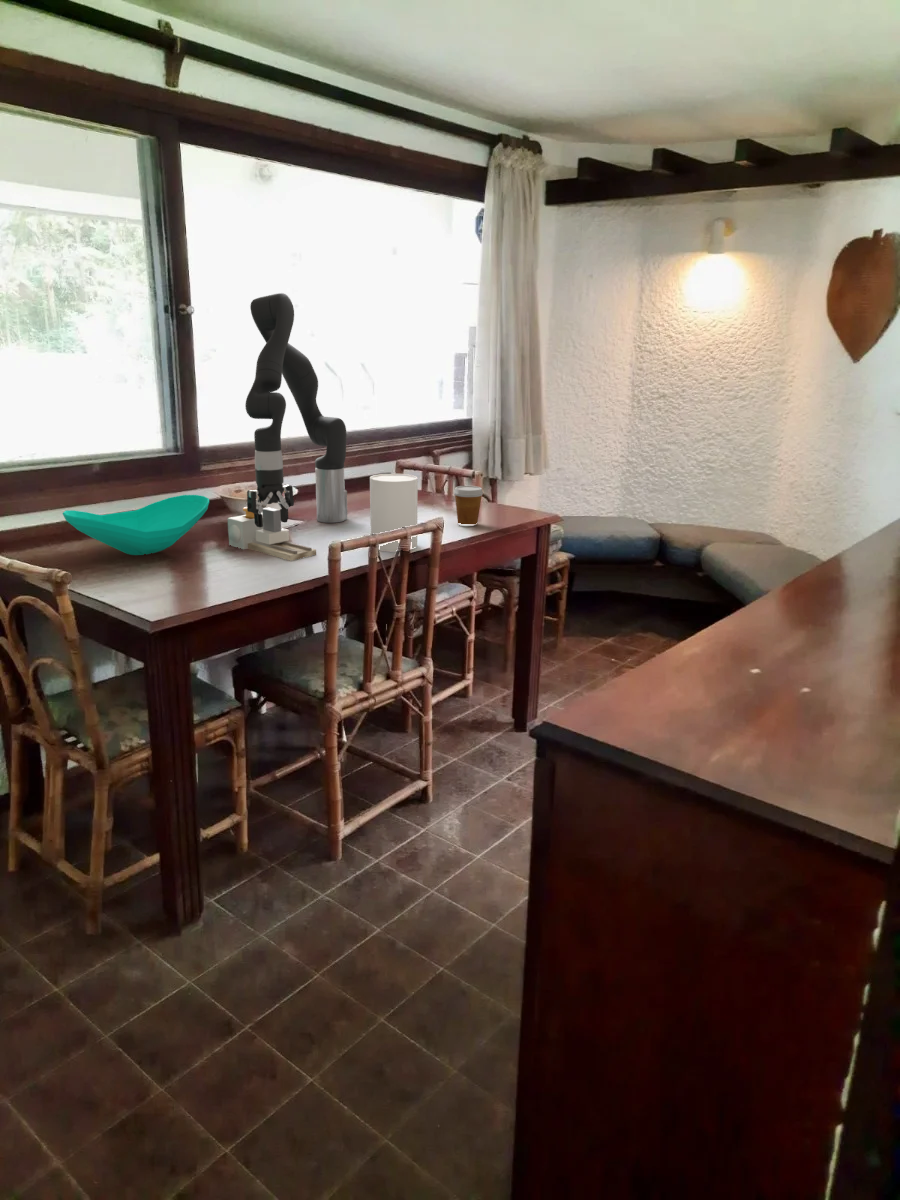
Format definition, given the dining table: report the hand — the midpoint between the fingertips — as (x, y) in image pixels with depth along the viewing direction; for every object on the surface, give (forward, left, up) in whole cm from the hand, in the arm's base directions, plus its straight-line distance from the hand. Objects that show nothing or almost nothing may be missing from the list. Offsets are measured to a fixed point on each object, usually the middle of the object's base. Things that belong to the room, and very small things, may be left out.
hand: (271, 524), depth 234 cm
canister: (-27, +22, -7) cm, 35 cm away
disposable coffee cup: (-64, +19, -7) cm, 67 cm away
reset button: (0, -9, +1) cm, 9 cm away
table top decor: (+27, -22, -7) cm, 36 cm away
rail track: (0, +4, -7) cm, 8 cm away
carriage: (0, 0, -5) cm, 5 cm away
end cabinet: (0, -9, -7) cm, 12 cm away
